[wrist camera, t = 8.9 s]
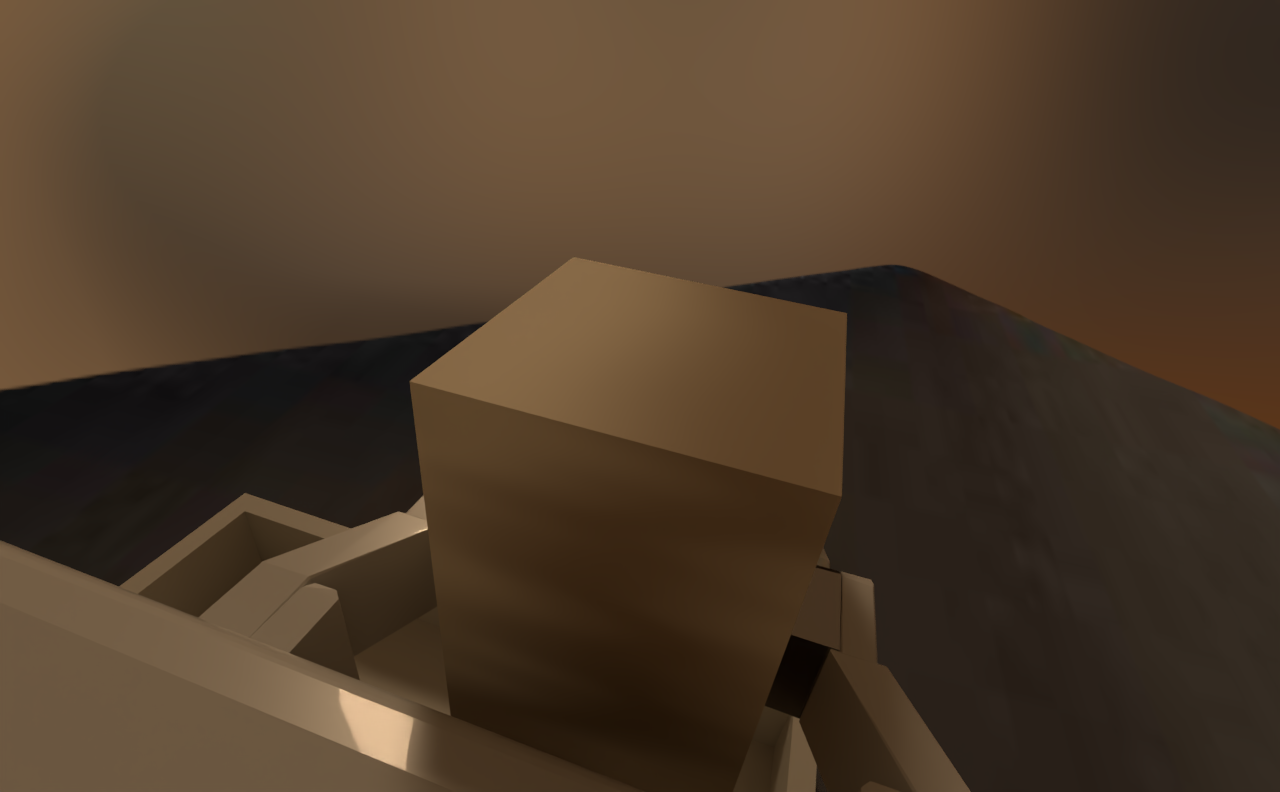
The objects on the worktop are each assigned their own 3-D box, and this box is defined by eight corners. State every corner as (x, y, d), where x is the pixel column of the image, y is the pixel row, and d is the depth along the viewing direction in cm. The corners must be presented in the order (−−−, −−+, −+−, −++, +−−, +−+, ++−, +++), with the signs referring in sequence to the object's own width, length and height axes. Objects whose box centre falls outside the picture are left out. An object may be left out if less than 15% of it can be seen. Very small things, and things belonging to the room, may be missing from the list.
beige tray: (-163, 922, 15) (-257, 865, 14) (264, 552, 27) (245, 493, 25) (735, 1461, 11) (780, 1487, 9) (795, 741, 22) (820, 686, 20)
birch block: (466, 844, 12) (409, 380, 6) (557, 657, 16) (573, 257, 10) (679, 936, 11) (842, 495, 5) (722, 715, 15) (846, 313, 9)
